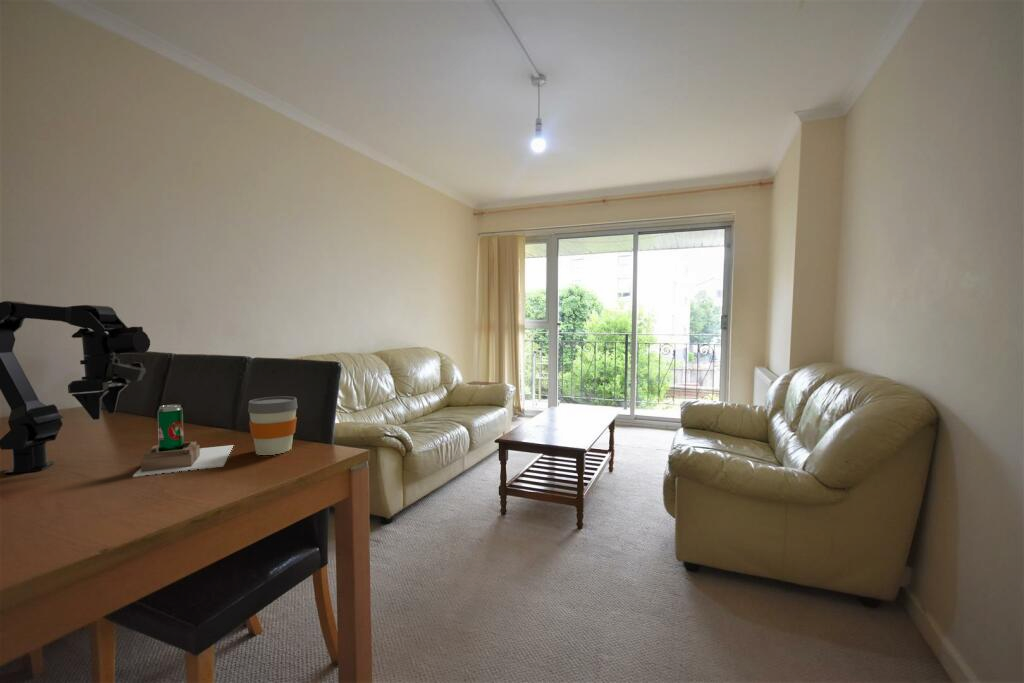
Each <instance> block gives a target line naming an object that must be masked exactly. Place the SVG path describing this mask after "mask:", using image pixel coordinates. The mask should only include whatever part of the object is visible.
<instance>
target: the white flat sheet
mask: <svg viewBox="0 0 1024 683" xmlns="http://www.w3.org/2000/svg"><path fill="white" fill-rule="evenodd" d="M233 446H234V447H235V445H234V444H230V445H220V446H211V447H201V448H200V456H199V457H198V458H197V460H196V461H195V462H194V464H193V465H192V466H189V467H181V468H172V469H163V470H155V471H146V472H145V471H144V472H141V467H140V468H139V469H138V470H137V471H136V472H135V473H134V474H133V475H132V478H139V476H140V477H146V476H145V475H149V476H154V475H155V474H157V475H163V474H162V473H165V474H172V473H171V472H174V473H179V471H180V473H181V471H182V472H188V470H190V471H196V470H197V469H199V470H206V468H207V469H213V468H222V467H224V466H225V464H226V462H227V460H228V459H229V457H230V455H231V453H232V451H233V449H234V448H233ZM232 448H233V449H232ZM231 450H232V451H231ZM230 452H231V453H230ZM229 454H230V455H229ZM228 456H229V457H228ZM227 458H228V459H227ZM197 471H198V470H197ZM155 476H156V475H155Z"/></svg>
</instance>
